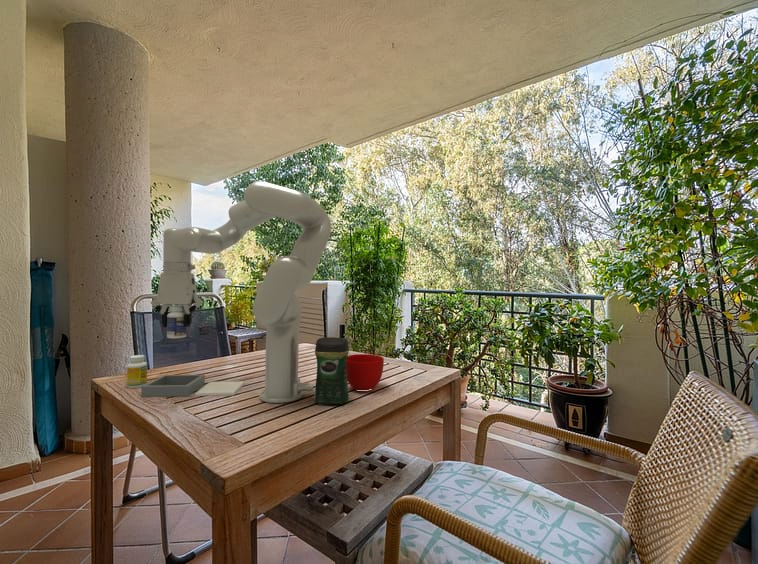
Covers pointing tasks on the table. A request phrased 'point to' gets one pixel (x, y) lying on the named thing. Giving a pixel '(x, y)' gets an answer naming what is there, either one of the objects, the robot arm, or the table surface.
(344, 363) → the coffee jar
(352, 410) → the table surface
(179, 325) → the pill bottle
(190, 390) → the bin
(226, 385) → the tile
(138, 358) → the supplement bottle
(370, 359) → the ceramic cup
